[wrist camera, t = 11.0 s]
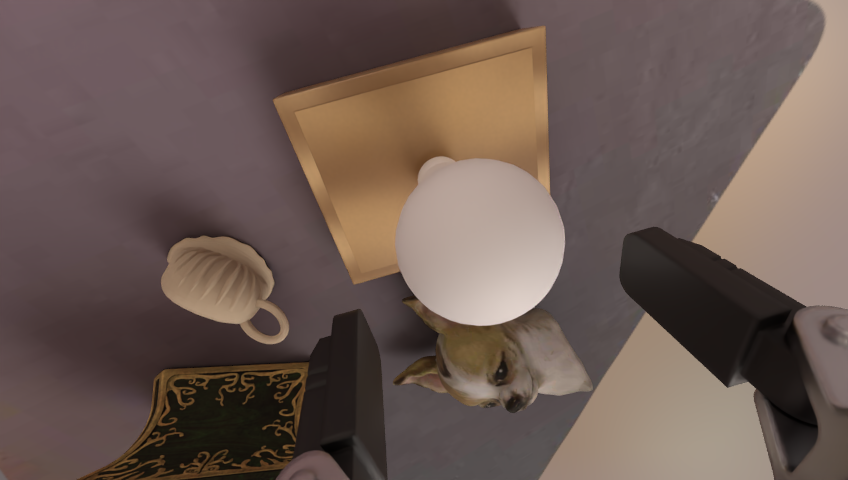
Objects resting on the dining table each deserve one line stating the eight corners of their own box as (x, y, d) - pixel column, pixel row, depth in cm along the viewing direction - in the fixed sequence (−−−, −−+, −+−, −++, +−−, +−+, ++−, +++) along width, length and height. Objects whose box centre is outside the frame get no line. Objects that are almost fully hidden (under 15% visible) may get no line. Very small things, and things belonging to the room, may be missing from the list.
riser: (284, 92, 19) (271, 99, 16) (521, 28, 19) (546, 24, 16) (354, 261, 25) (353, 285, 22) (532, 211, 25) (552, 229, 22)
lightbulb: (472, 225, 21) (557, 364, 12) (377, 215, 20) (389, 363, 10) (500, 128, 18) (642, 211, 9) (392, 109, 17) (427, 182, 8)
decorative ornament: (194, 215, 21) (147, 261, 17) (308, 277, 25) (295, 328, 20) (165, 258, 22) (114, 311, 18) (279, 311, 26) (260, 367, 21)
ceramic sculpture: (580, 450, 26) (393, 456, 24) (537, 363, 34) (392, 362, 32) (636, 356, 21) (407, 354, 19) (571, 278, 29) (401, 270, 27)
